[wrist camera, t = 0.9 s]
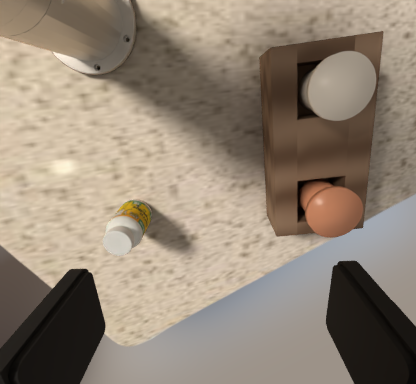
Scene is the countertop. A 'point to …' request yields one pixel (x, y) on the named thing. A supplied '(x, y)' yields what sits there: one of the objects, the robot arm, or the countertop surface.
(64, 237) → the countertop surface
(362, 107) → the cream button
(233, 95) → the countertop surface
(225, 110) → the countertop surface
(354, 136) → the wooden shaker caddy
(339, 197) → the orange-brown round piece
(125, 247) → the supplement bottle
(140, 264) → the countertop surface
